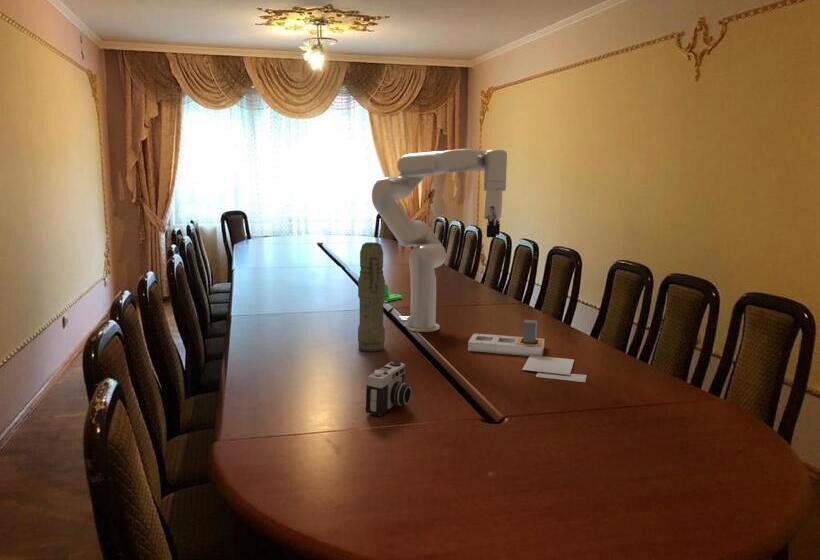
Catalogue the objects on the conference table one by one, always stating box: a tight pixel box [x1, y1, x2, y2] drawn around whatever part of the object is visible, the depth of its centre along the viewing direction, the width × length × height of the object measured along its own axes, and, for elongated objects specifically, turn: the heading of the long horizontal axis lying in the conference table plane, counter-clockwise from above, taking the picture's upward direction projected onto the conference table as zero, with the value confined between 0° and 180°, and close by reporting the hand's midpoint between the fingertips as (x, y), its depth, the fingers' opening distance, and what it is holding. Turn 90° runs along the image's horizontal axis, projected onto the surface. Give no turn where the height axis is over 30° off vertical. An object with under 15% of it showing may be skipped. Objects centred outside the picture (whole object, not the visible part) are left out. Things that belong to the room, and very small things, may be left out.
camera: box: [365, 361, 412, 416], centre depth 160 cm, size 14×9×10 cm, turn 148°
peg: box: [522, 319, 538, 344], centre depth 212 cm, size 4×4×10 cm
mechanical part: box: [383, 283, 402, 301], centre depth 292 cm, size 12×6×8 cm, turn 139°
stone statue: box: [357, 242, 386, 352], centre depth 211 cm, size 9×12×35 cm
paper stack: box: [521, 355, 587, 383], centre depth 191 cm, size 23×25×1 cm
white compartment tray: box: [467, 333, 545, 357], centre depth 214 cm, size 24×12×3 cm, turn 75°
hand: (493, 236), depth 224 cm, fingers open, 9 cm apart
